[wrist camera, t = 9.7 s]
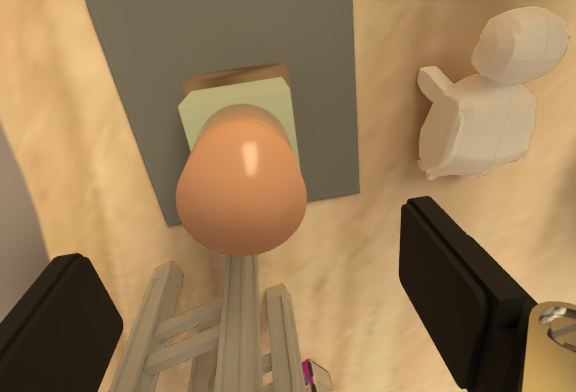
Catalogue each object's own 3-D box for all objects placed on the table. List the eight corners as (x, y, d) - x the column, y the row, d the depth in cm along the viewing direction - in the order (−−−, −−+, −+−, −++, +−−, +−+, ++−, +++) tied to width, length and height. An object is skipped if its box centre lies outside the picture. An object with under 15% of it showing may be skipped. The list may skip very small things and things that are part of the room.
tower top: (281, 76, 24) (289, 88, 19) (293, 161, 27) (302, 188, 22) (190, 91, 23) (177, 106, 19) (213, 174, 26) (206, 204, 22)
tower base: (281, 61, 28) (288, 68, 23) (292, 145, 31) (300, 165, 27) (192, 75, 27) (181, 84, 23) (214, 159, 31) (208, 181, 27)
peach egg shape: (282, 97, 19) (299, 130, 13) (294, 182, 22) (312, 244, 16) (186, 111, 19) (157, 153, 13) (209, 196, 22) (194, 264, 15)
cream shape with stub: (468, 137, 37) (550, -17, 25) (511, 194, 31) (639, 30, 20) (394, 142, 36) (444, -14, 25) (423, 202, 31) (506, 36, 19)
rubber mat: (349, -39, 25) (351, -40, 25) (358, 191, 35) (359, 192, 34) (87, 0, 25) (84, -1, 24) (168, 223, 34) (167, 226, 34)
